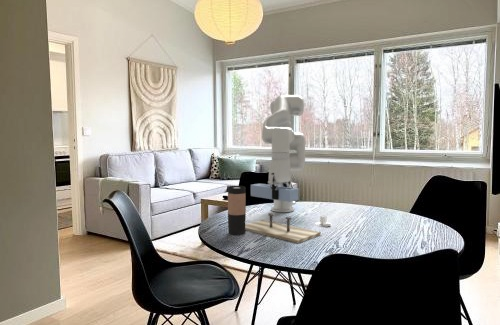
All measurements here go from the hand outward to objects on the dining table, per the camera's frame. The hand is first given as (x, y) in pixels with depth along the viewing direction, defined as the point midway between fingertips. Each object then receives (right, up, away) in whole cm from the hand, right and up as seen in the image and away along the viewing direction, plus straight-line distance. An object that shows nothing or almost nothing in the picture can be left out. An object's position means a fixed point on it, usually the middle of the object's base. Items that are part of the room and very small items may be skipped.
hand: (280, 197), depth 165 cm
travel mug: (-19, -15, -1) cm, 24 cm away
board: (0, -15, +2) cm, 15 cm away
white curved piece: (+19, -15, +13) cm, 27 cm away
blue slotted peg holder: (-3, 0, +2) cm, 4 cm away
